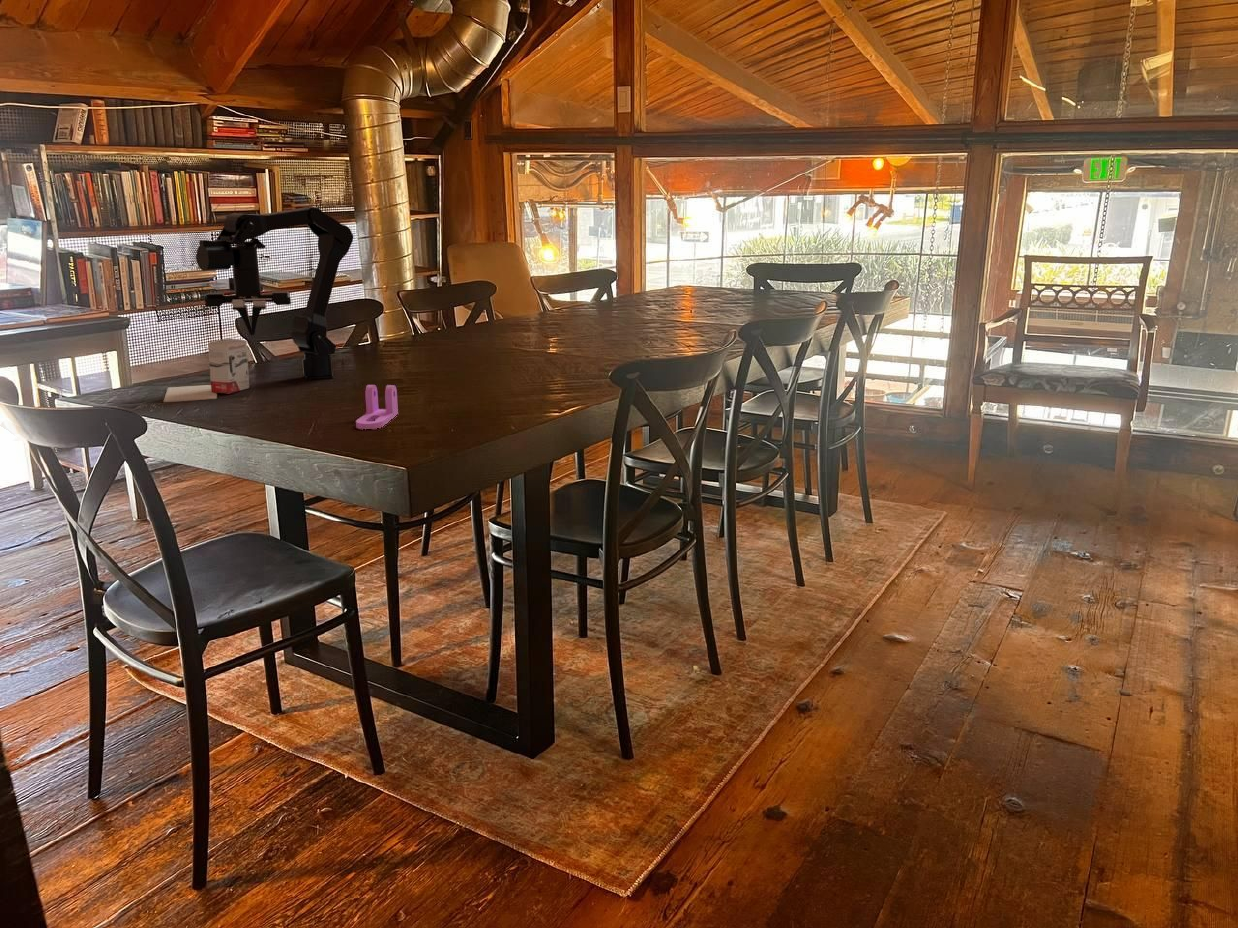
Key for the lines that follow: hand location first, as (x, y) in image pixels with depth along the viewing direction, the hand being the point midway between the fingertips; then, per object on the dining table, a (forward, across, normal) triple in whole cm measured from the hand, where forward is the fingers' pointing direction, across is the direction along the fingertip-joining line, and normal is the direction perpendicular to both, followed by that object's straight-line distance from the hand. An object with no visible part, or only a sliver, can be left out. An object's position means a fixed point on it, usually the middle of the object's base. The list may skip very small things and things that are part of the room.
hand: (252, 335), depth 222 cm
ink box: (+13, +6, +3) cm, 14 cm away
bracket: (+13, -24, +45) cm, 53 cm away
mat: (+13, +14, +4) cm, 20 cm away
